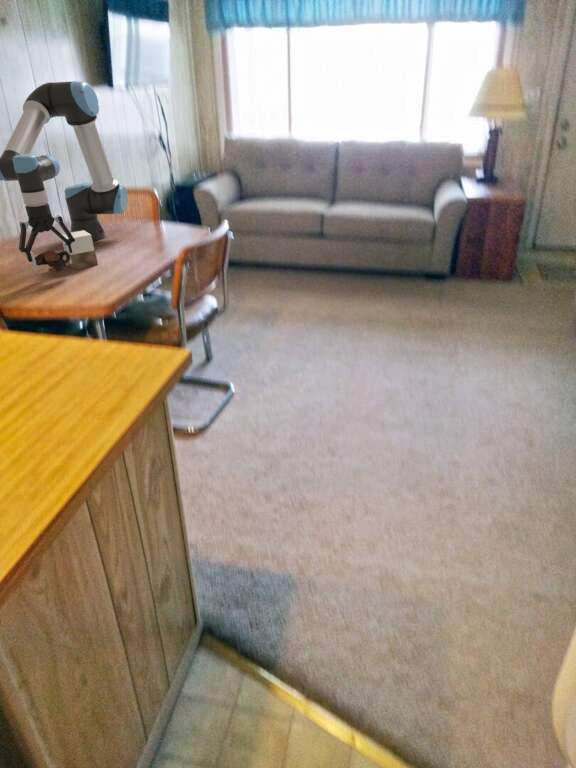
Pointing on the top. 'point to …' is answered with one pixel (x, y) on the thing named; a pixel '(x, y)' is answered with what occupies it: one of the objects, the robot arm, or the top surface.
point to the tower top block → (80, 242)
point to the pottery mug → (53, 260)
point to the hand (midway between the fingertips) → (53, 266)
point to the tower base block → (83, 260)
